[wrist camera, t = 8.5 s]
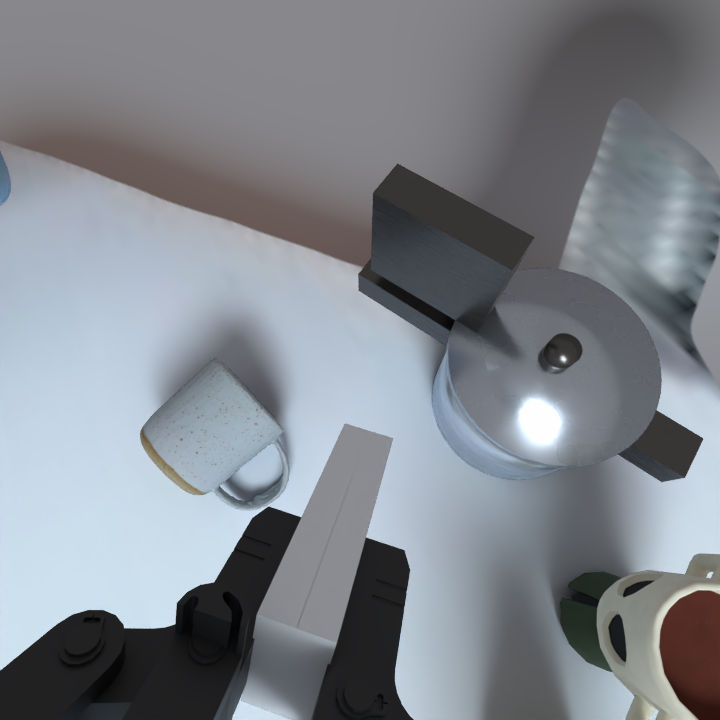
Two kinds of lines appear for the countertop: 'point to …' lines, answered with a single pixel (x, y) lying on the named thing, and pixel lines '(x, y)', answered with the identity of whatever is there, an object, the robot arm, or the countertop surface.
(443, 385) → the pot
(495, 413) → the lid
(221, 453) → the ceramic mug
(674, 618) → the character mug
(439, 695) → the countertop surface
